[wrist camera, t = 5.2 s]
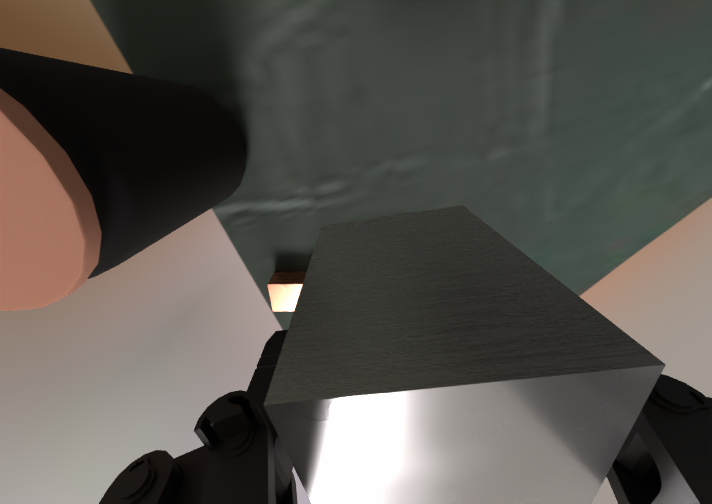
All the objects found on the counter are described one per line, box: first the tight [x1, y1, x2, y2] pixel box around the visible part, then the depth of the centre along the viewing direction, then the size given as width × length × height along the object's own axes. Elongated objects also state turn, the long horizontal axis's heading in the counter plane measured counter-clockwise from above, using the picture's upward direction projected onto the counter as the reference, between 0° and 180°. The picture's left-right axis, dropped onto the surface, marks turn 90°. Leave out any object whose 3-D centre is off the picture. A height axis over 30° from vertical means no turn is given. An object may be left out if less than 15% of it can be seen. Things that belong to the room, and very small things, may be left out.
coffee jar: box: [0, 48, 245, 311], centre depth 18 cm, size 11×11×18 cm
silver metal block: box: [264, 205, 665, 504], centre depth 9 cm, size 6×6×8 cm
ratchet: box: [268, 271, 307, 311], centre depth 30 cm, size 18×8×7 cm, turn 91°
